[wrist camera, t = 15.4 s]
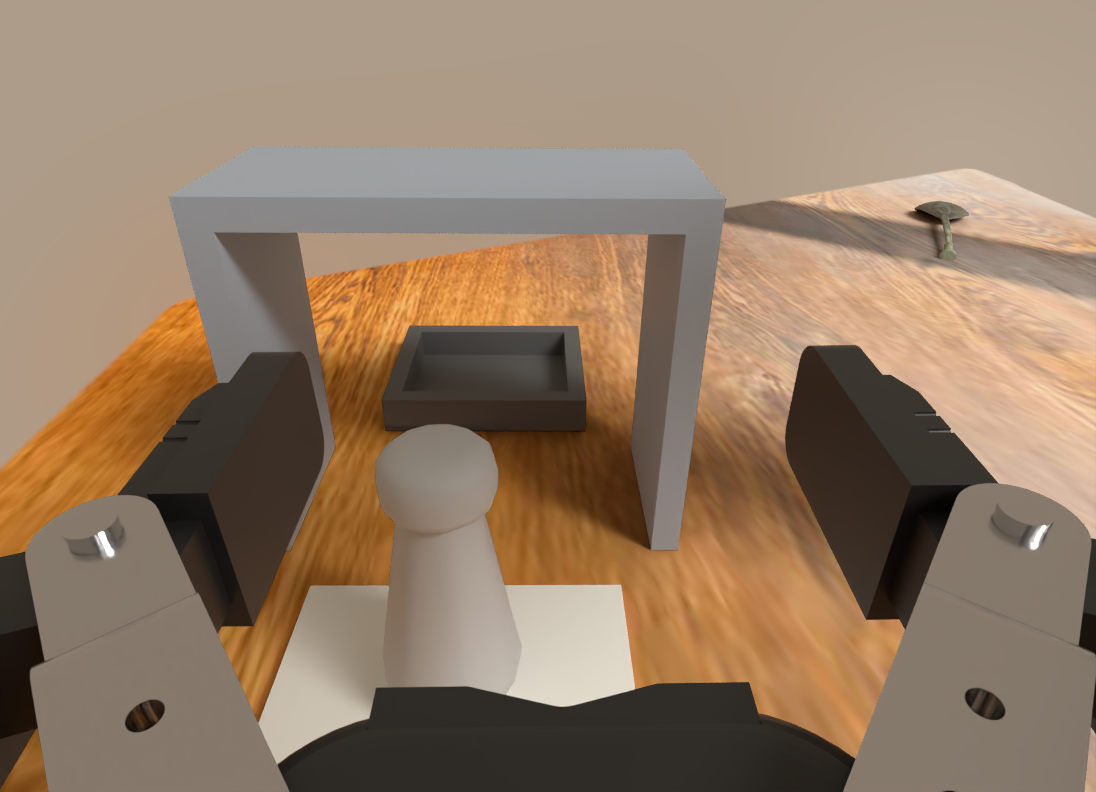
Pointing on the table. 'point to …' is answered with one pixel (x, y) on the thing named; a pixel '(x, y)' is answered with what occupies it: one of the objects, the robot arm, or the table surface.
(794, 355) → the table surface
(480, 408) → the pit box
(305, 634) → the pad
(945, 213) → the soupspoon
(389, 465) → the salt shaker
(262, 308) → the gate
